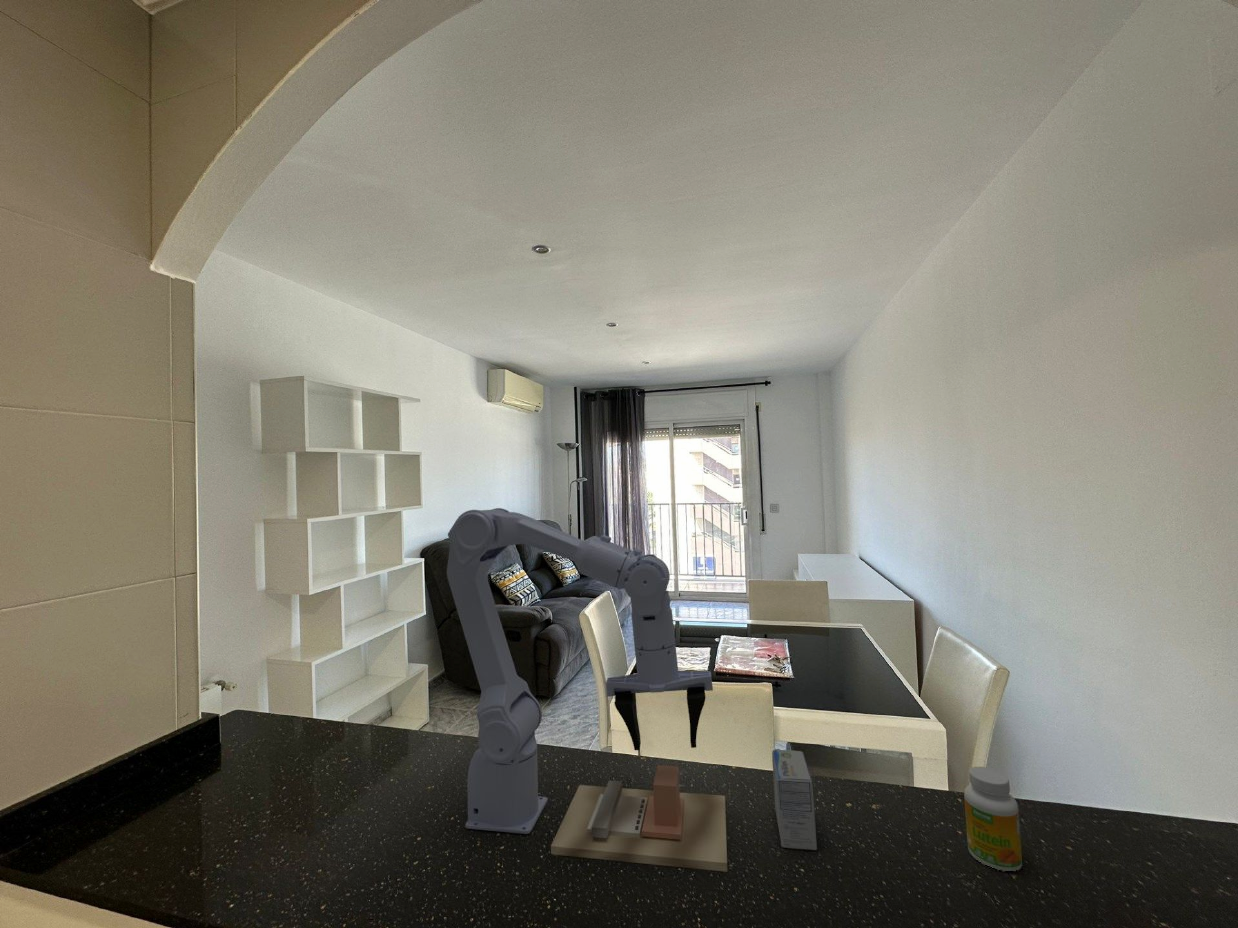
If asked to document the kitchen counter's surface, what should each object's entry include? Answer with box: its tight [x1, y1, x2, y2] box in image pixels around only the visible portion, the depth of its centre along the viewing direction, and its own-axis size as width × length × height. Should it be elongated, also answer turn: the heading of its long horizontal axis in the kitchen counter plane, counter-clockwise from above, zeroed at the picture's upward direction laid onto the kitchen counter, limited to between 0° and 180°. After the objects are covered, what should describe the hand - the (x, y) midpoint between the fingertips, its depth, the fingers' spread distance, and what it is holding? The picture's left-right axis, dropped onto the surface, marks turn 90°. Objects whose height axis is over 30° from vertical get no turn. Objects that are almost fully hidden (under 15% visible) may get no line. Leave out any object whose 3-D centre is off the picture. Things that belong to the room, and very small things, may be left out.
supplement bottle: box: [963, 766, 1023, 872], centre depth 63 cm, size 5×5×10 cm
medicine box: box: [771, 749, 818, 851], centre depth 69 cm, size 8×4×9 cm, turn 168°
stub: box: [642, 764, 684, 840], centre depth 70 cm, size 5×8×6 cm, turn 170°
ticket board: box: [550, 780, 728, 873], centre depth 70 cm, size 22×14×3 cm, turn 79°
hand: (665, 745), depth 70 cm, fingers open, 7 cm apart
